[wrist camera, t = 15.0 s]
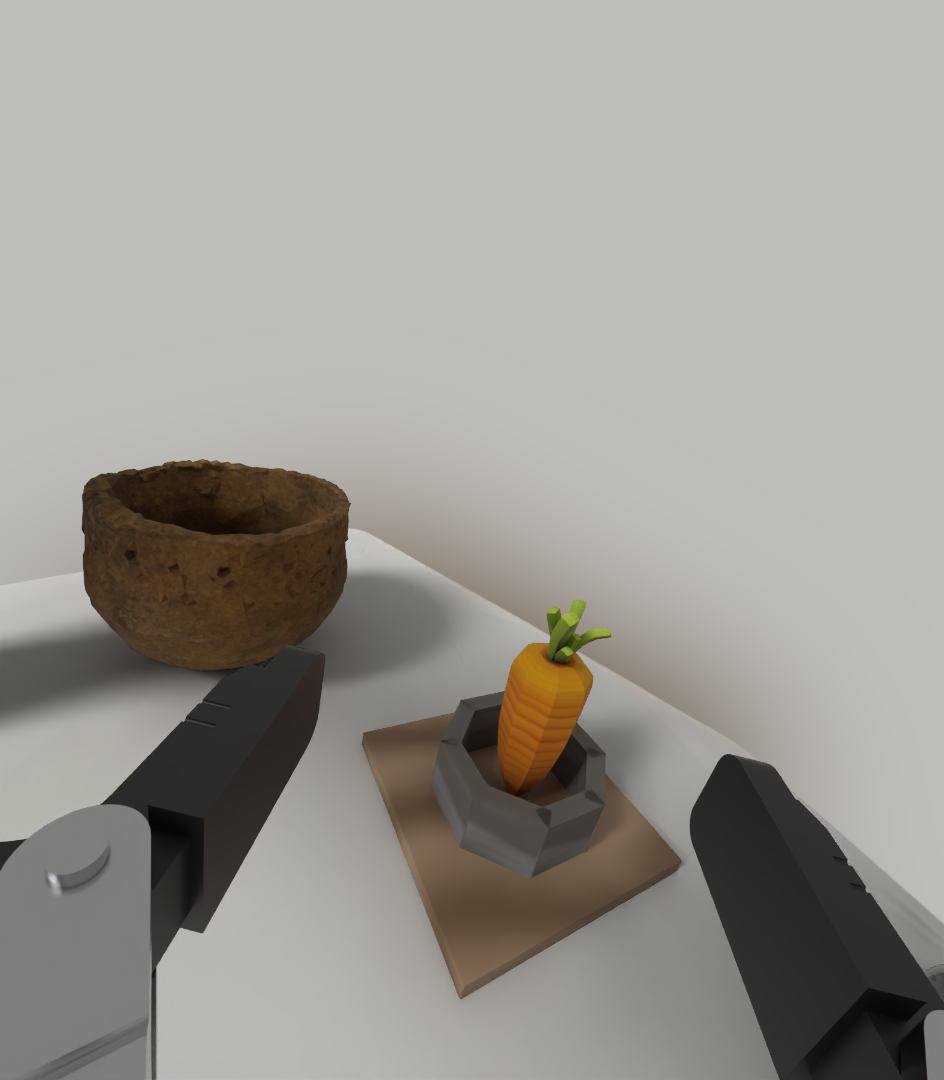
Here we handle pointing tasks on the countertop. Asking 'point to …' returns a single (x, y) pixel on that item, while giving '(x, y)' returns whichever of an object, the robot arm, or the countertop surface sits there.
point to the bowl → (213, 559)
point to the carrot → (543, 701)
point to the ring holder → (508, 839)
